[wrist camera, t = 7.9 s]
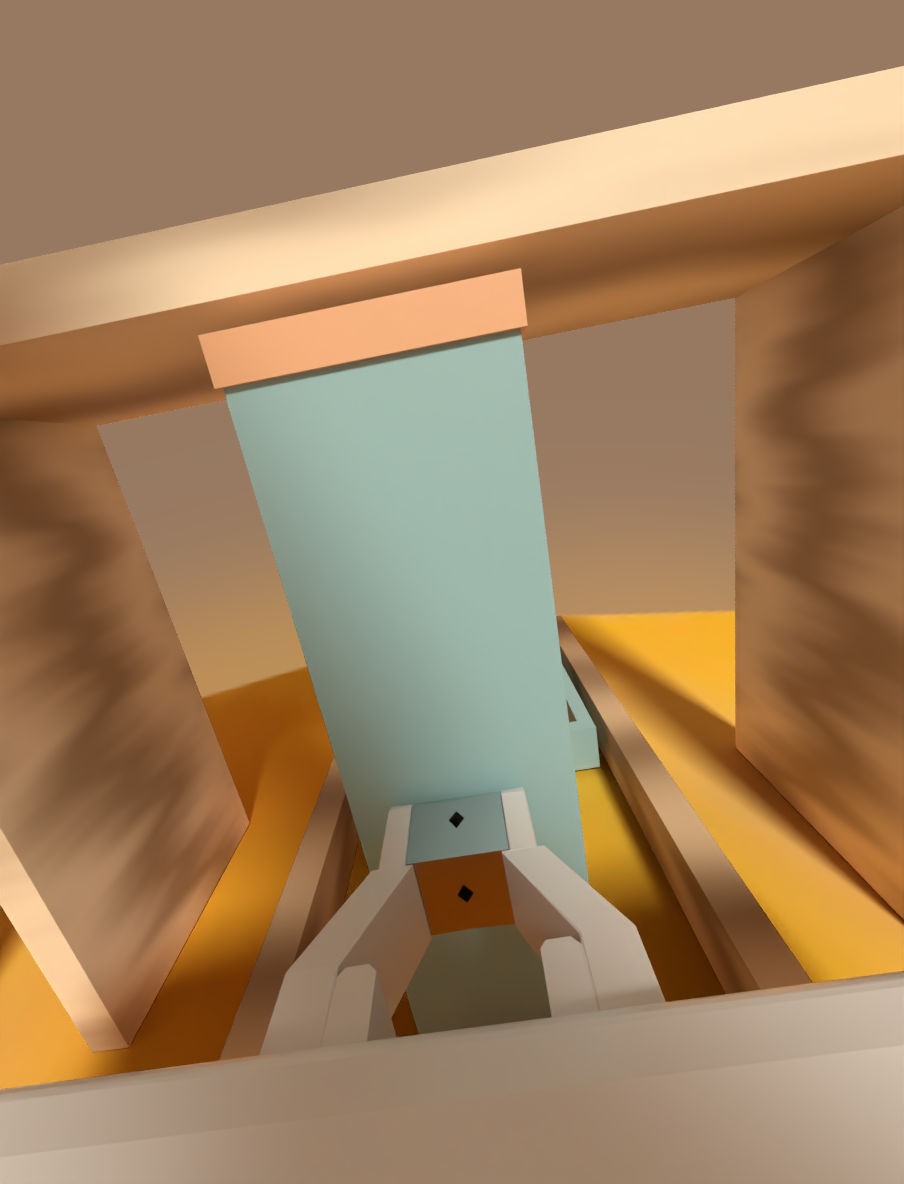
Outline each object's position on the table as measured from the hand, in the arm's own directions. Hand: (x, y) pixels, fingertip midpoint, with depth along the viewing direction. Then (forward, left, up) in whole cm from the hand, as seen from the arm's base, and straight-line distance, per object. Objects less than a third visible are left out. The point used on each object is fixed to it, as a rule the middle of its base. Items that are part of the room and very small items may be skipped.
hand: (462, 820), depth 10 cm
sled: (-7, +8, -8) cm, 13 cm away
